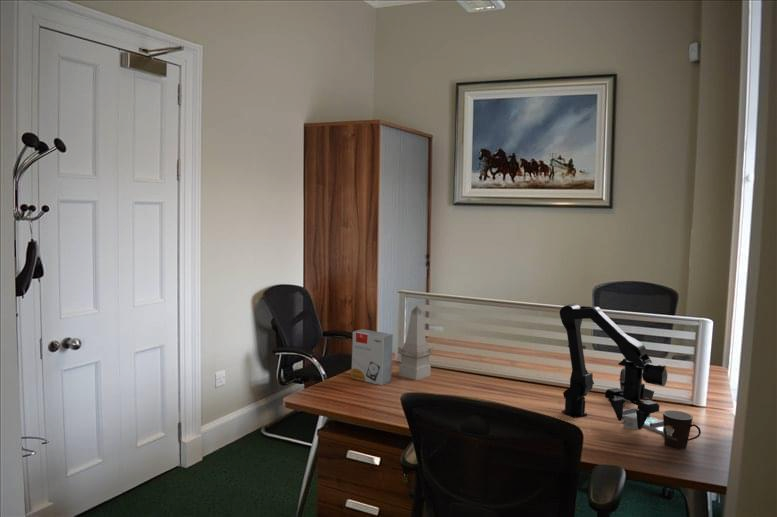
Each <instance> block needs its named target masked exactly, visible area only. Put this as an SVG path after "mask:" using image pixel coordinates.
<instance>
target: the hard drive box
mask: <svg viewBox="0 0 777 517" xmlns="http://www.w3.org/2000/svg"><path fill="white" fill-rule="evenodd" d="M351 334H352V337H351V338H352V339H351V340H352V341H351V366H350V367H351V371H350V372H351V374H350V378H351V379H354V380H357V381H361V382H366V383H370V384H373V385H379V386H384V385H385V384H388V383H390V382H392V367H393V366H392V363H393V361H392V360H393V336H394V335H393V334H391V333H387V332H382V331H376V330H369V329H364V328H361V329H358V330H354V331H352V333H351Z"/></svg>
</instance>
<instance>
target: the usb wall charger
mask: <svg viewBox="0 0 777 517" xmlns="http://www.w3.org/2000/svg"><path fill="white" fill-rule="evenodd" d="M620 424H621V425H623V427H624V428H627V429H629V430H632V431H633V430H635V429H638V425H637V415H636V414H630V415H626V416H624V418H623V421H620Z"/></svg>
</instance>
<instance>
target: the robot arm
mask: <svg viewBox="0 0 777 517" xmlns="http://www.w3.org/2000/svg"><path fill="white" fill-rule="evenodd" d="M559 317H560V320H561V323H562V325H563V327H564V329H565V330H566V335H567V342H568V348H569V356H570V364H571V374H570V378H569V387H568V388H566V390H564V391H563V392H562V394H563V398H564V399H565V400H564V401H565V403H564V409H563V410H561V413H563V414H566V415H567V416H569V417H571V418H579V417H584V416H587V415H588V413H587V412H585V410H586V396H587V394H588V393H589V392H591V391H592V389H593V387H594V386H593V385H595V382H594V379H593V372H589V371H588V370H587V368H586V363H585V356H584V355H585V353H584V348H583V340H582V333H581V332H582V331H581V326H582V321H583V320H584V319H585V320H586V319H588V320H592V321H593V323H594V324H596V325H597V326H598V327H599V328H600V329H601V330H602V331H603V332H604V333H605V334H606V335H607V336H608V337H609V338H610V339H611V340H612V341H613V342H614V343H615V344H616V347H617V348H618V351H619V352H620V354H622V357H624V358H622V360H621V361H619V362H618V363H617V364H618V366H623V367H624V368H625V369H624V381H623V382H621V385H623V390H621V388H618V387H614V388H607V390H606V391H605V394H604V397H605V399H607V401H608V402H609V403H610V405H611V407H612V409H613V411H614V413H615V416H616V418H617V420H618V421H619V422H622V420H623V418H622V414H623V410H624V405H625V403H626V402H628V403H630V404H632V405H636V406H637V408H638V410H637V411H636V415H637V425H638V428H637V429H638V430H642V429H643V428H644V426H643V425H644V423H645V421H646V419H647V417H648V416H649V415H650V416H651V414H654V413H658V412H660V404H659V403H658V402H656V401H653V397H654V394H655V391H654V390H651V389H648V388H646V386H645V383H646V384H650V385H655V386H659V387H665V386H666V384H667V382H668V370H667V369H666V367H667V366H666V365H665V364H657V363H653V361H652V360H651V358H650V356H649V355H648V353H647V348H646V346H645V345H644V343H642V342H641V341H639V340H637V339H636V338H634V337H632V336H630V335H628V334H627V333H625V332H624V331H623V330H622V329H621V327H620V326H618V325H617V324H616V322H614V321H613V320H612V319H610V317H609V316H608V315H606V314H605V313H604V311H603V310H602V309H601V308H600V307H599V306H585V305H581V306H580V305H578V304H577V303H569V304H567V305H563V306H562V307H561V308H560V310H559ZM643 381H644V382H645V383H644V382H643ZM642 382H643V383H642ZM646 399H647V400H646Z"/></svg>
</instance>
